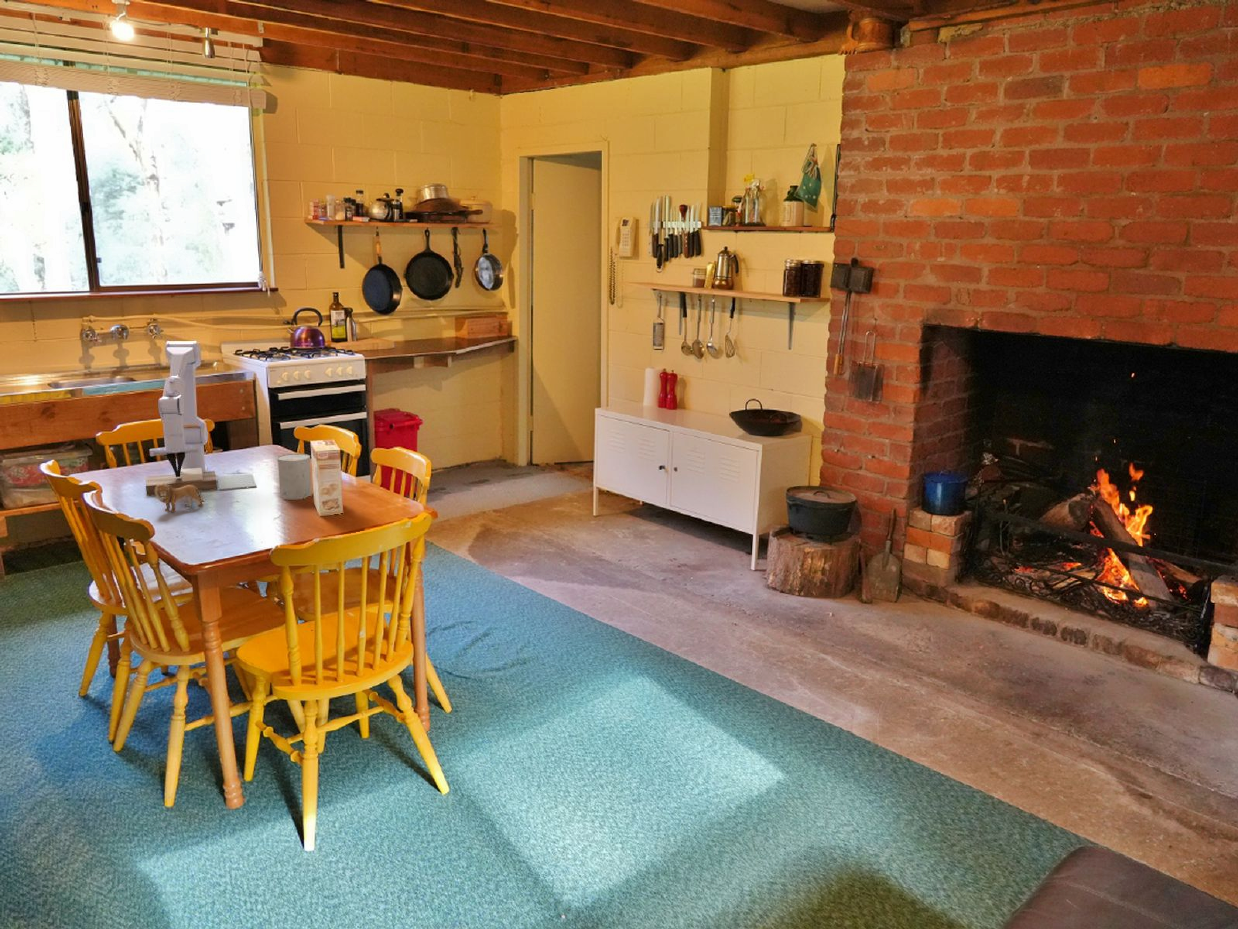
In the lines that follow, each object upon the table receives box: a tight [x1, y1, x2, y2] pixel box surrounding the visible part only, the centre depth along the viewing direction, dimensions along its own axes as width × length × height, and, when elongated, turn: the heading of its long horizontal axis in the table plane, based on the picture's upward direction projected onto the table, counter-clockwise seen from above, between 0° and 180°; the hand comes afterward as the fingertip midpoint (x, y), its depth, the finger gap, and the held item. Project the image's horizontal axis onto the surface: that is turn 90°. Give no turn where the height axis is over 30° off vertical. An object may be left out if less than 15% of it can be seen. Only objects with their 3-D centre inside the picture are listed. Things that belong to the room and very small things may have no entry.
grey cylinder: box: [277, 453, 313, 501], centre depth 289 cm, size 10×10×12 cm
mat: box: [216, 473, 257, 491], centre depth 303 cm, size 16×11×1 cm
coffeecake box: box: [310, 439, 344, 517], centre depth 275 cm, size 15×7×20 cm, turn 23°
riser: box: [145, 470, 218, 496], centre depth 296 cm, size 12×20×3 cm, turn 115°
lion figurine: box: [154, 483, 205, 513], centre depth 273 cm, size 15×5×9 cm, turn 147°
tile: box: [180, 468, 203, 481], centre depth 297 cm, size 8×6×2 cm
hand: (178, 476), depth 295 cm, fingers closed
